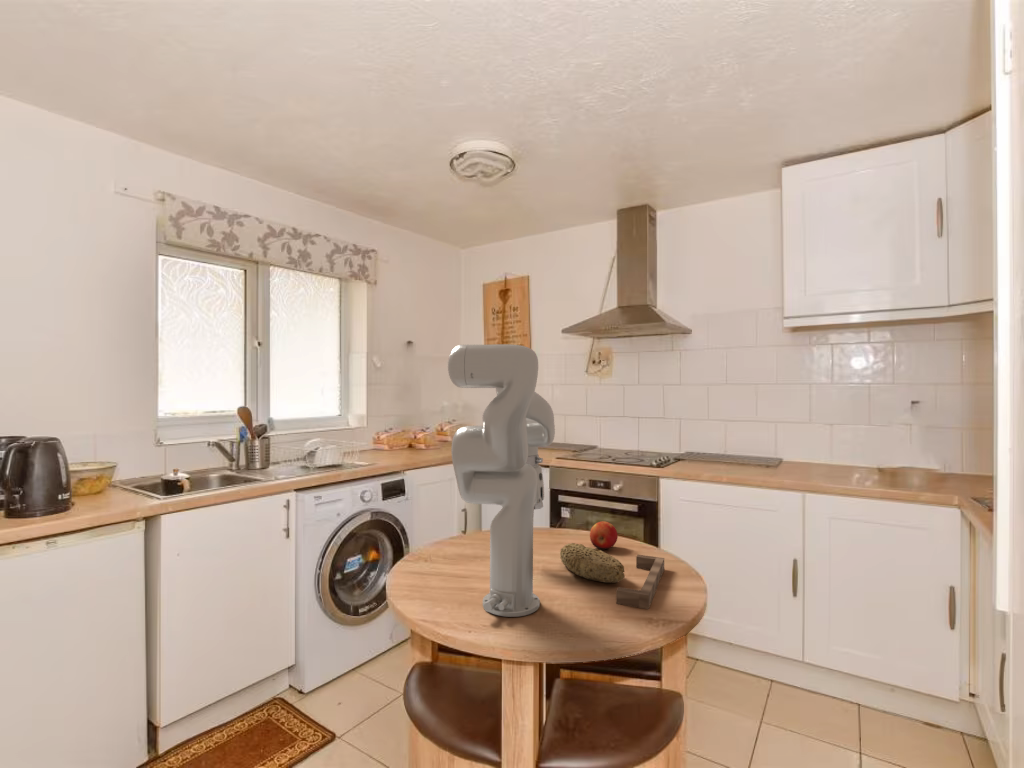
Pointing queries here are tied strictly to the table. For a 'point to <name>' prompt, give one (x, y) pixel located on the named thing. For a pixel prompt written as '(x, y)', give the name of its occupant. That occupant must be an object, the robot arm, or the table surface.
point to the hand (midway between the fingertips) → (523, 528)
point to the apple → (603, 535)
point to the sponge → (592, 563)
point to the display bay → (648, 590)
